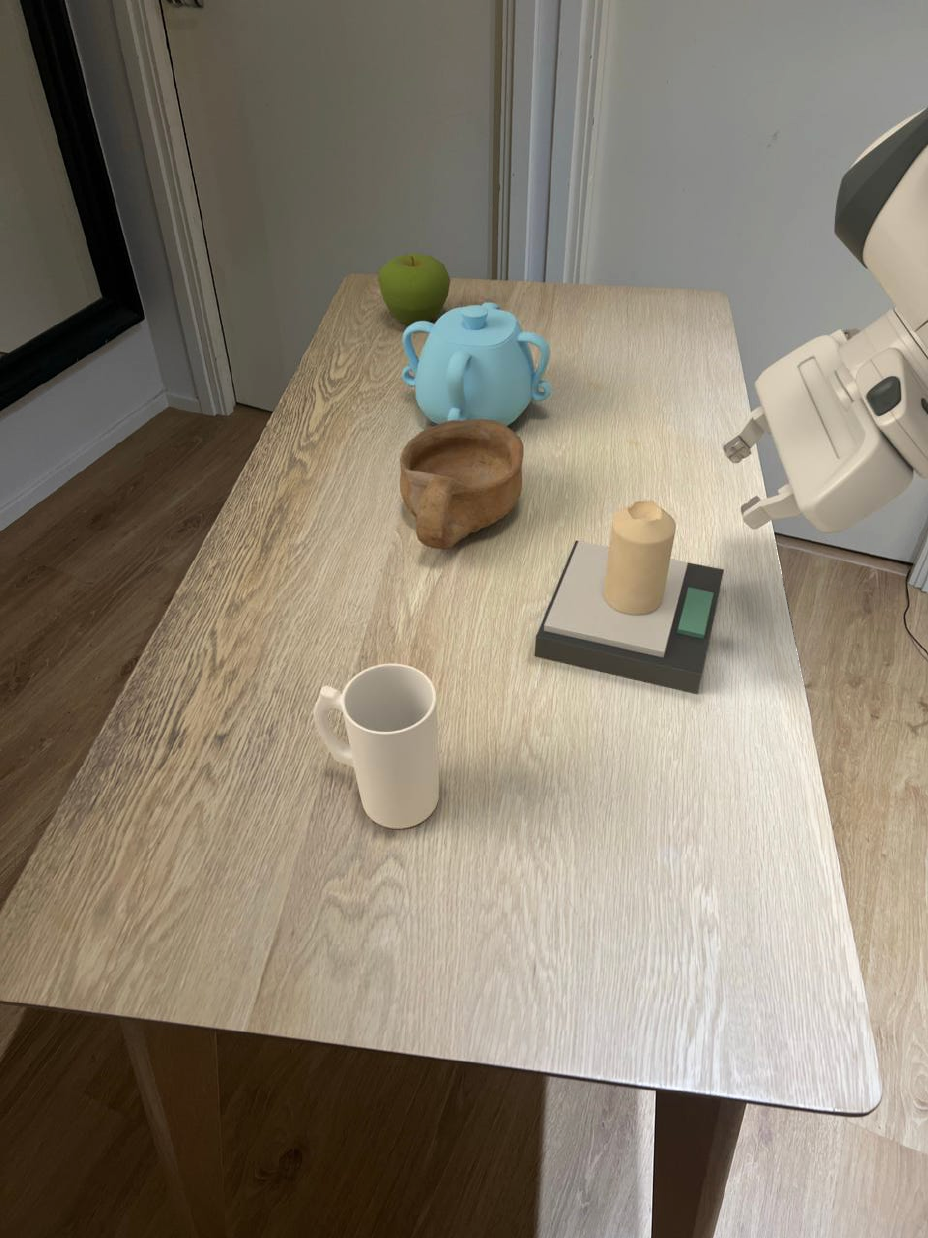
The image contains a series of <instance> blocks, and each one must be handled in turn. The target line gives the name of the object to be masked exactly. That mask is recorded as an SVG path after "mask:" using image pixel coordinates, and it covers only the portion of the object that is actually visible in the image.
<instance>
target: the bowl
mask: <svg viewBox="0 0 928 1238" xmlns="http://www.w3.org/2000/svg"><path fill="white" fill-rule="evenodd" d="M524 450H525V449H524V443H523V440H522V439H521V438H520V436H519V435H518V434H517V433H516V432H515V431H513V430H512V429H511V428H509V427H508V426H505V425H504V424H502V423H500V422H497V421H493V420H487V419H472V420H461V421H458V420H451V421H447V422H444V423H441V424H436V425H433V426H430V427H428V428H426V429H424V430H422V431H420V432H419V433H417V434H416V435H415V436H414V437H413V438H411V439H410V440H409V441H408V442H407V443H406V445H405V446H404V447H403V448H402V451H401V454H400V458H399V464H400V465H399V466H400V476H399V493H400V495H401V498H402V500H403V501H404V504H405V506H406V507H407V509H408V510H409V512H410V514H411V515H412V517H414V518H415V519H416V520H415V521H416V523H415V532H416V533H415V534H416V538H417V539H418V541H419V542H420V543H421V544H423V545H424V546H426V547H428V548H431V549H435V550H436V549H437V550H445V549H450V548H452V547H454V545H456V544H457V543H458V542H459V541H461V540H462V539H464V538H467V536H468V535H469V534H471V533H476V532H478V531H480V530H481V529H484V528H487V527H489V526H490V525H493V524H495V523H496V522H497V521H499V520H502V519H503V518H504V517H505V515H508V514H509V513H510V512H511V510H512V508H514V507H515V506H516V505H517V502H518V500H519V498H520V496H521V494H522V489H523V461H524V452H525V451H524Z"/></svg>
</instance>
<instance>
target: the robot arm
mask: <svg viewBox="0 0 928 1238" xmlns="http://www.w3.org/2000/svg"><path fill="white" fill-rule="evenodd" d="M835 204H836V205H835V211H834V212H835V214H834V230H833V232H834V235H835V236H836V237H837V238H838V239H839V240H840V241H841V243H842V244H843V245H844V246H845V247H846V249H847V250H848V251H849V252H850V253H851V254H852V255H853V256H854V258H855V259H856V260H857V261H858V262H859V263H860V264H861V265H862V267H864V269H867V270H868V271H869V272H870V273H871V275H872V276H873V278H874V279H875V280H876V282H877V283H878V285H879V286H880V288H881V289H882V291H884V293H885V294H886V296H887V297H888V298H889V300H890V301H891V303H892V304H893V305H894V307H893V308H890V309H889V310H888V311H886V312H885V313H884V314H882V315H881V316H880V317H878V318H877V319H875V320H874V321H873V322H871V323H870V324H868V325H866V326H865V327H864V328H863V329H862V330H860V329H859V328H857V327H854V328H851V329H850V328H846V329H838V330H835V331H834V332H832V333H831V334H823V335H820V336H819V335H818V336H817V337H815V338H812V339H810V340H809V341H807V342H806V343H804V344H802V345H800V346H798V347H797V348H796V349H794V350H792V351H791V352H789V353H787V354H786V355H784V356H783V357H782V358H780V359H778V360H777V361H776V362H774V363H772V364H771V365H769V366H768V367H766V369H764V370H763V371H762V372H761V374H760V375H758V378H757V379H756V380H755V382H754V388H755V392H756V395H757V396H758V399H759V403H760V405H759V406H758V407H756V408H754V410H752V411H750V413H749V414H748V416H747V417H746V418H745V419H744V421H743V423H742V424H741V425H740V426H739V428H738V429H737V431H736V432H735V433H734V434H732V435H730V437H728V438H727V439H725V440H724V441H723V442H722V445H721V446H722V450H723V452H724V455H725V457H726V459H728V460H729V461H730V462H731V463H732V464H739V463H740V462H742V460H743V459H747V458H748V457H749V456H751V455H752V448H753V447H754V446H755V445H756V443H757V442H759V440H760V439H761V438H762V437H763V436H764V435H765V434H766V435H767V436H768V435H770V434H771V435H772V439H773V441H774V444H775V447H776V449H777V453H778V456H779V458H780V461H781V464H782V467H783V469H784V472H785V474H786V475H785V476H786V477H787V480H788V482H787V483H786V484H785V485H783V486H781V487H780V488H778V490H777V492H778V494H777V495H774V496H770V497H767V498H764V499H761V498H760V497H759V496H758V495H755V496H754V497H752V498H751V499H749V501H747V502H745V503H743V504H742V505H741V506H740V513H741V517H742V520H743V522H744V523H745V524H746V525H747V526H748V527H749V528H750V529H751V530H758V529H760V528H761V527H764V525H766V524H768V523H769V522H771V521H776V520H781V519H787V518H788V519H789V518H795V517H798V516H799V515H800V514H802V515H803V516H804V518H806V519H807V520H808V522H809V523H810V524H811V525H812V526H813V527H814V528H815V529H816V530H817V531H818V532H820V533H821V534H822V533H823V534H831V533H838V532H839V533H840V532H842V531H844V530H847V529H848V528H851V527H852V526H854V525H856V524H857V523H859V522H861V521H862V520H864V519H866V518H868V517H869V516H871V515H872V514H874V513H875V512H877V511H878V510H880V509H882V508H883V507H885V506H887V505H888V504H889V503H891V502H892V501H894V500H896V499H897V498H898V497H900V496H901V495H902V494H903V493H904V492H905V491H906V490H907V489H908V488H909V486H910V485H911V484H912V482H913V479H914V473H916V475H917V476H918V477H919V478H921V479H928V106H927V107H926V108H924V109H923V108H922V109H921V110H920V111H918V112H916V113H914V114H912V115H911V116H909V117H907V118H905V119H904V120H902V121H900V122H899V123H897V124H895V125H893V127H891V128H890V129H889V130H887V131H886V132H884V133H883V134H882V135H880V136H879V137H878V138H877V139H875V141H873V142H872V143H871V144H870V145H869V146H868V147H867V148H865V149H864V151H862V153H861V154H860V155H859V156H858V158H856V159H855V161H854V162H853V164H851V166H850V168H849V169H848V171H847V172H846V173H845V174H844V175H843V176H842V177H841V180H840V184H839V188H838V192H837V198H836V203H835Z"/></svg>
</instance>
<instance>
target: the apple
mask: <svg viewBox="0 0 928 1238" xmlns="http://www.w3.org/2000/svg"><path fill="white" fill-rule="evenodd" d="M377 281H378V285H379V289H380V292H381V297H382V299H383V302H384V304H385V306H386V307H387V309H388V311H389V313H390V315H391V317H392V318H393V319H395V320H396V321H397V322H399V323H401V324H402V325H403V326H405V327H408V326H410V325H411V324H413V323H415V322H419V321H426V322H431V321H432V320H433V319H435V318H437V317H438V316H439V315H440V313H441V312H442V309H443V307H444V305H445V303H446V301H447V299H448V297H449V292H450V284H451V277H450V275H449V272H448V270H447V268H446V266H445V264H444V263H443V262H441V261H440V260H438V259H437V258H436V257H434V256H432V255H427V254H422V253H406V254H403V255H399V256H396V257H394V258H391V259H390V260H389V261H387V263H385V264H384V265H383V266H382V267H381V268H380V270H379V274H378V278H377Z"/></svg>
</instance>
